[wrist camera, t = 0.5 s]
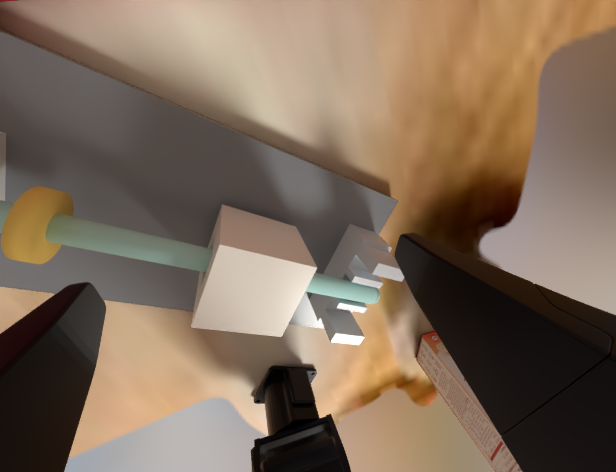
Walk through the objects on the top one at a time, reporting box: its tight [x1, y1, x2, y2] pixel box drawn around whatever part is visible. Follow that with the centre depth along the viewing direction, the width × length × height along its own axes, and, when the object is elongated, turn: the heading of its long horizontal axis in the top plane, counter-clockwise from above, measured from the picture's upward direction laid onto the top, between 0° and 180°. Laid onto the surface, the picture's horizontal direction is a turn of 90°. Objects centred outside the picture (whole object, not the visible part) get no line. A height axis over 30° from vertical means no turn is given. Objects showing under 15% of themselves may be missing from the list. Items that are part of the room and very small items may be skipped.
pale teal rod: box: [0, 186, 380, 304], centre depth 17 cm, size 4×29×4 cm, turn 64°
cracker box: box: [416, 332, 522, 472], centre depth 31 cm, size 14×6×21 cm, turn 92°
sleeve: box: [191, 204, 317, 337], centre depth 18 cm, size 6×6×6 cm
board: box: [0, 29, 404, 345], centre depth 18 cm, size 16×30×7 cm, turn 64°
